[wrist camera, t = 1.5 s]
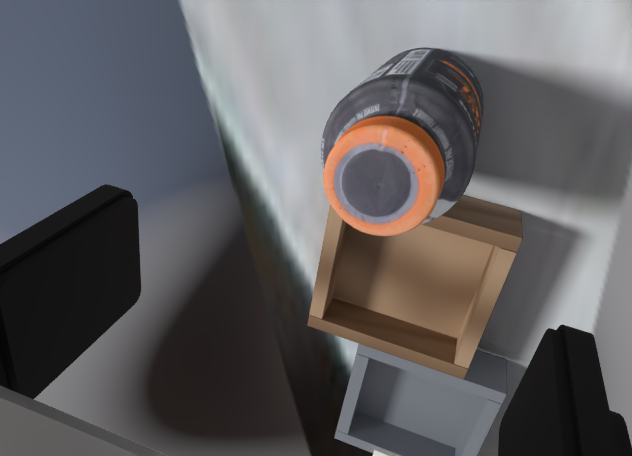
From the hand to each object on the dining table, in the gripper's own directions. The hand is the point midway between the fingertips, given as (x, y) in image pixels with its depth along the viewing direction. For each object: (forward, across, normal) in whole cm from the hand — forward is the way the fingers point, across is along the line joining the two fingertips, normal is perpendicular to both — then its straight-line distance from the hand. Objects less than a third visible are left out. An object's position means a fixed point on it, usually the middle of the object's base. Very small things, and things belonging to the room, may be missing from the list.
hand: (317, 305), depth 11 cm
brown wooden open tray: (+18, -1, +9) cm, 20 cm away
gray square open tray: (+18, -4, +19) cm, 26 cm away
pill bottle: (+18, 0, 0) cm, 18 cm away
